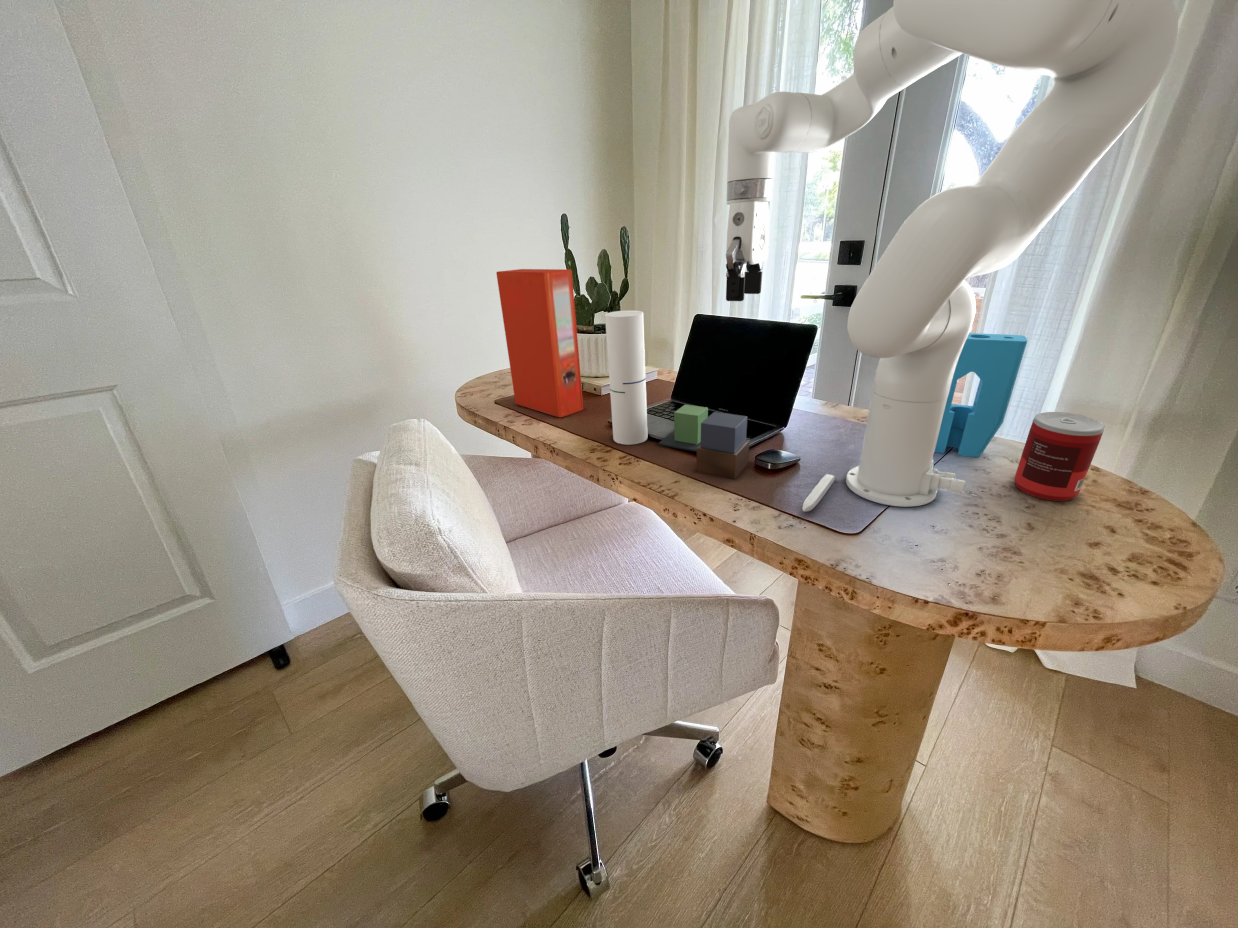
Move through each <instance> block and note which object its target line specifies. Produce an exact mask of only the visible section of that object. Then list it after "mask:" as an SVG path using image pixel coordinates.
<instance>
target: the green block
mask: <svg viewBox="0 0 1238 928" xmlns="http://www.w3.org/2000/svg"><path fill="white" fill-rule="evenodd" d="M708 417H709V408H708V407H707V406H705V407H704V406H698V405H693V404H692V405H690V404H684V405H682V406H681V407H680V408H678V409H677V410H675V411H674V413H673V426H674V427H673V429H674V430H673V431H674V440H675V441H681V442H686V443H692V444H699V443H700V442H701V423H702V422H703V421H704V420H705V419H707V418H708Z"/></svg>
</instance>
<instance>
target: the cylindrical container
mask: <svg viewBox="0 0 1238 928" xmlns="http://www.w3.org/2000/svg"><path fill="white" fill-rule="evenodd" d="M644 316H645V315H644V311H641V310H636V309H635V310H632V309H630V310H629V309H627V310H616V311H610V312H607V313H604V320H605V335H606V337H605V338H606V349H607V351H606V352H607V365H608V366H607V367H608V381H609V394H610V409H611V423H612V439H613V441H614V442H615V443H617V444H621V445H627V446H630V445H638V444H642V443H644V442H646V441H647V440H648V439H649V438H648V437H649V436H648V406H647V378H646V376H647V375H646V352H645V351H646V349H645V347H646V346H645V320H644V318H645V317H644Z"/></svg>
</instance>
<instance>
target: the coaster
mask: <svg viewBox="0 0 1238 928" xmlns="http://www.w3.org/2000/svg"><path fill="white" fill-rule="evenodd" d="M657 445H658V446H660V447H661V446H662V447H667V448H672V449H678V450H683V451H689V452H695V453H697V447H699V446H700V445H701V442H700V443H699V444H692V443H686V442H681V441H675V440H674V430H673V431H672V432H671V433H670V434H668V435H667V436H665V437H664V438H663V439H662V440H660V441H659V442H658V443H657Z"/></svg>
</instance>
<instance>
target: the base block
mask: <svg viewBox="0 0 1238 928" xmlns="http://www.w3.org/2000/svg"><path fill="white" fill-rule="evenodd" d="M750 442H751V441H750V439H747V438H746V441H745V442H744V443H743V444H742V445H741V446H740V447H739V449H738V450H737V451H736V452H735V453H729V452H724V451H718V450H713V449H707V448H701V445H700V446H699V447H697V452H696V472H699V473H703V474H708V475H712V476H718V477H722V478H728V479H732V480H736V479H737V477H738V476H739V475H740V474H741V472H742V471H743V470H744V469H745V467H746V466H747V465H748V464H749V457H750V456H749V455H750V444H751V443H750Z"/></svg>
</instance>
